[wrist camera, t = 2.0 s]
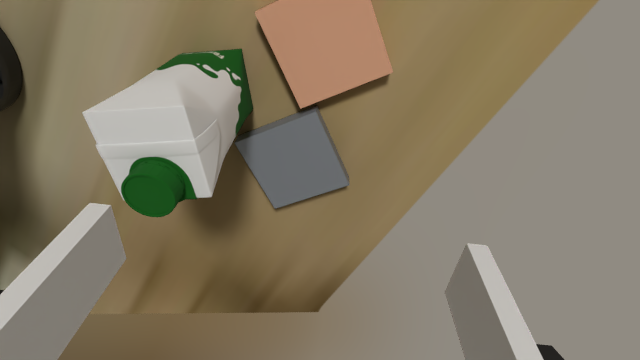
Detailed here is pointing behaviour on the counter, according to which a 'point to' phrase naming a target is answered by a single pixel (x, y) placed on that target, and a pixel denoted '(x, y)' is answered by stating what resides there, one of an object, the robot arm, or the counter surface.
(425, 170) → the counter surface
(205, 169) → the soya milk
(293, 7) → the terracotta tile
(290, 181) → the slate tile
